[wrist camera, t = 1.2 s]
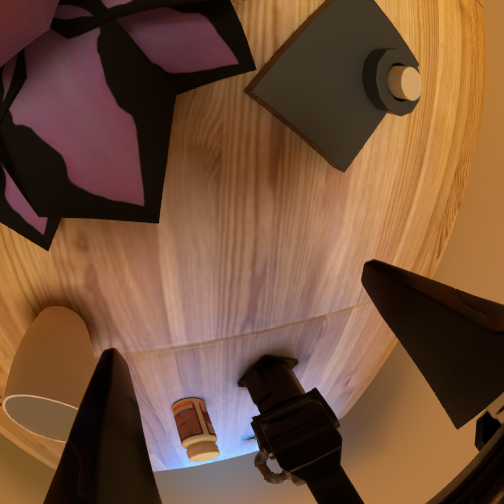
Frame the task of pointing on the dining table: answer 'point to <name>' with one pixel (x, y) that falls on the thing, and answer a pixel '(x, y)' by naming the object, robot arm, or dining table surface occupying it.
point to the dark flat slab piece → (336, 78)
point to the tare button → (404, 82)
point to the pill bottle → (195, 429)
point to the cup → (50, 374)
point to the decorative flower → (100, 102)
